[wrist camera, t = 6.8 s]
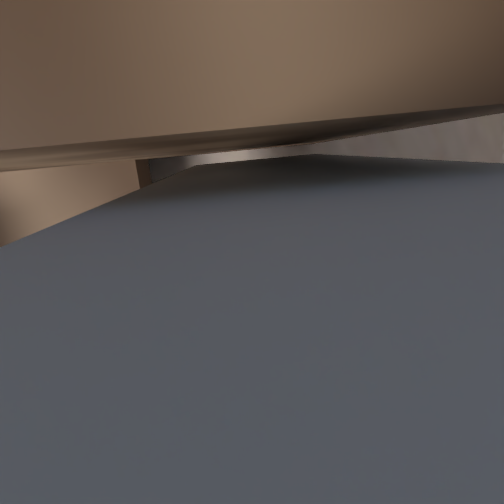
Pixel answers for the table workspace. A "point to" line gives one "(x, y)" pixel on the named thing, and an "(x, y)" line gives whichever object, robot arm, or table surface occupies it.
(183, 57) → the shelf
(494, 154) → the table surface
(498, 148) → the table surface
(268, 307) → the boxed book
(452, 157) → the table surface
